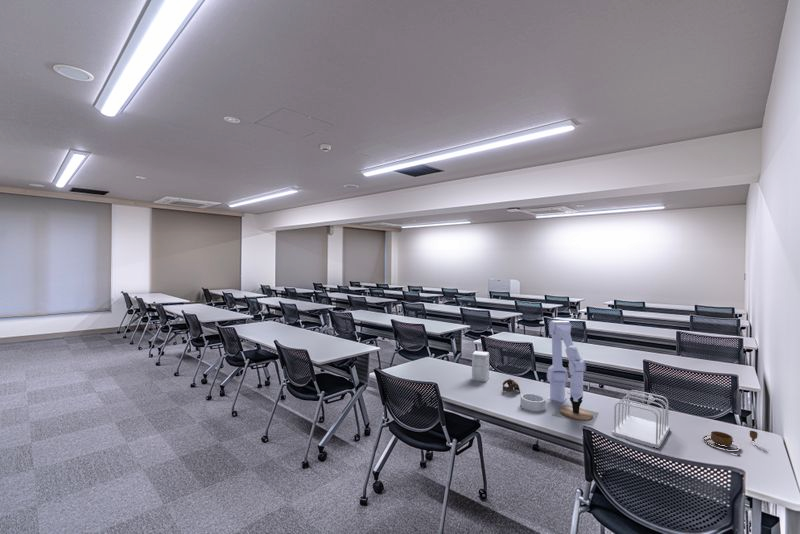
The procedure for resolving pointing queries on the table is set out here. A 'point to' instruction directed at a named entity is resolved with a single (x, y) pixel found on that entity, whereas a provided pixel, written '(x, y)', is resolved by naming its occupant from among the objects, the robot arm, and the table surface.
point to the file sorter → (641, 423)
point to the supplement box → (480, 366)
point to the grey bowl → (533, 402)
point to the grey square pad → (589, 422)
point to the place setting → (726, 438)
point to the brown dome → (510, 385)
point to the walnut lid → (581, 415)
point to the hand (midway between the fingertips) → (575, 411)
